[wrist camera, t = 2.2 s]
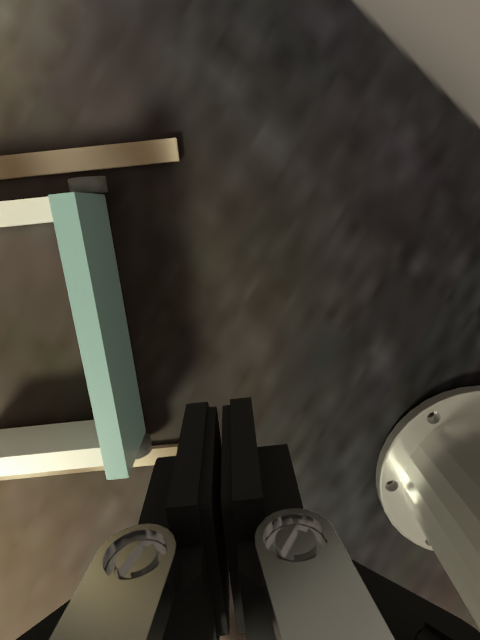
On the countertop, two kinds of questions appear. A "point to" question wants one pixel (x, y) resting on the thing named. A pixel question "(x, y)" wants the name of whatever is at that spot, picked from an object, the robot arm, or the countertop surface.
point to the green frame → (84, 343)
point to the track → (85, 162)
